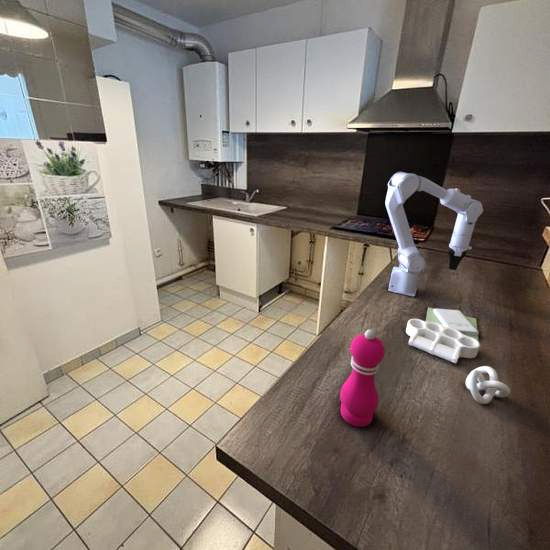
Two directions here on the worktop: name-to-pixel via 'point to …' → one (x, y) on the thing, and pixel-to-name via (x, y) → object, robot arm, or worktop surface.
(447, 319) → the hard drive
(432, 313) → the mat
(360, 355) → the pepper mill
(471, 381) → the knot
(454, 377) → the worktop surface
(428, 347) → the white brass knuckles
